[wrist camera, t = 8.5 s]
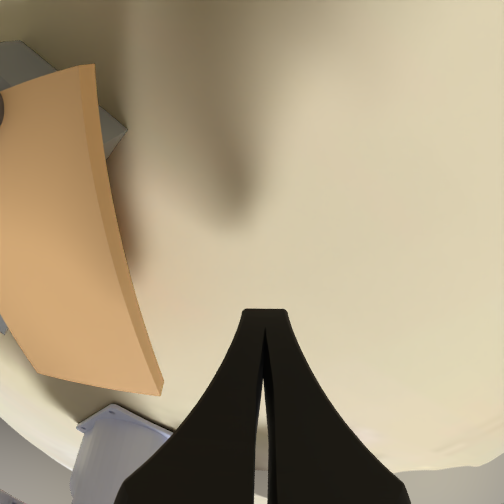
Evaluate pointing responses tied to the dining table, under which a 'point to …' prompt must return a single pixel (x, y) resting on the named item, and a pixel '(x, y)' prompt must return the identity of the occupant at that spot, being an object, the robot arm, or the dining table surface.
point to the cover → (66, 240)
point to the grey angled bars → (33, 66)
